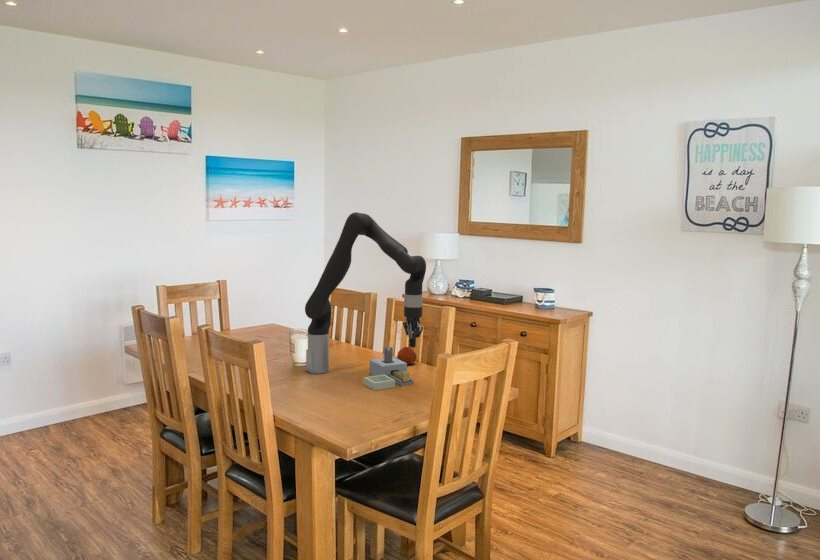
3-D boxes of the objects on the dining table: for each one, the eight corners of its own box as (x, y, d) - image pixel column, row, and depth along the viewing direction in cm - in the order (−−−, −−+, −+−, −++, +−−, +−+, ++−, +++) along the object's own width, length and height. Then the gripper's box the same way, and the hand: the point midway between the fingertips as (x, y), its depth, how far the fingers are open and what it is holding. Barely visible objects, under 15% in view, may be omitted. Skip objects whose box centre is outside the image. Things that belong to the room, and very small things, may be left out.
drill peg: (386, 376, 281) (386, 349, 279) (382, 374, 284) (382, 347, 282) (393, 375, 283) (394, 348, 281) (389, 373, 286) (390, 346, 284)
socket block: (419, 383, 272) (420, 369, 271) (394, 386, 266) (394, 372, 265) (393, 370, 291) (393, 357, 291) (369, 373, 285) (369, 359, 285)
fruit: (405, 367, 297) (405, 350, 296) (393, 363, 304) (393, 346, 303) (420, 364, 302) (420, 347, 301) (408, 360, 309) (408, 344, 308)
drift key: (409, 381, 270) (409, 372, 270) (403, 381, 269) (403, 373, 268) (398, 375, 278) (399, 367, 277) (392, 376, 276) (392, 368, 276)
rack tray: (374, 390, 260) (374, 383, 260) (363, 384, 268) (363, 377, 268) (395, 387, 265) (395, 380, 265) (384, 381, 273) (384, 374, 273)
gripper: (397, 303, 265) (396, 344, 267) (413, 308, 254) (412, 351, 256) (413, 302, 269) (412, 342, 271) (429, 307, 258) (428, 349, 260)
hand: (412, 346), depth 264 cm, fingers closed
